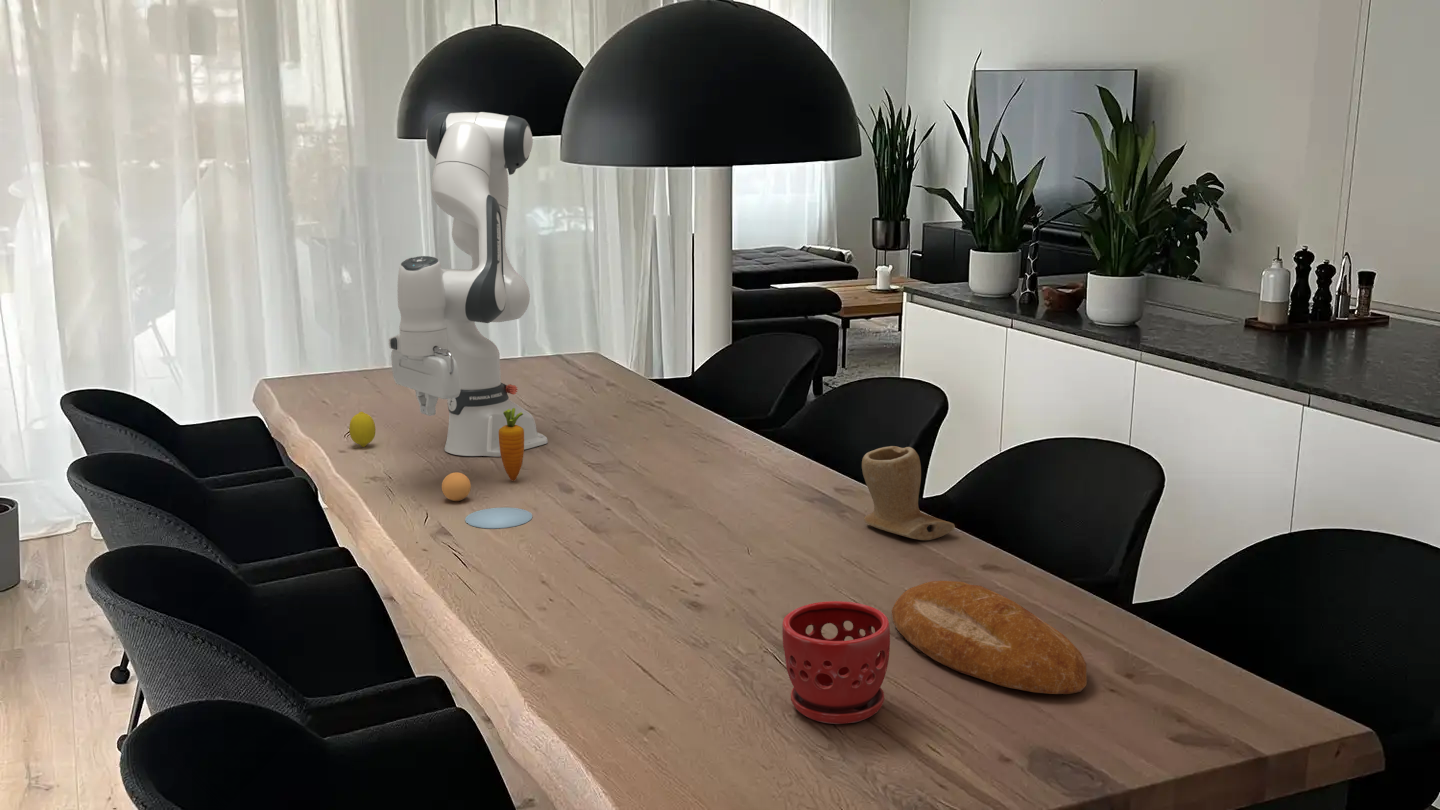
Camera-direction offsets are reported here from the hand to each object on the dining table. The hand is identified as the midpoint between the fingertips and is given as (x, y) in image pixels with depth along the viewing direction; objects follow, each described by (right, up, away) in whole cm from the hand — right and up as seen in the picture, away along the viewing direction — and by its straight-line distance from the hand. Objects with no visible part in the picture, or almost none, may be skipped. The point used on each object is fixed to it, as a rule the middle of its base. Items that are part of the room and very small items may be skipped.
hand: (428, 414), depth 258 cm
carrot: (+15, -14, +9) cm, 22 cm away
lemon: (-22, -8, +36) cm, 43 cm away
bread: (+92, -33, -74) cm, 123 cm away
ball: (+6, -14, -4) cm, 16 cm away
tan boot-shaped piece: (+88, -21, -24) cm, 93 cm away
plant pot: (+70, -36, -91) cm, 121 cm away
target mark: (+16, -19, -15) cm, 29 cm away
